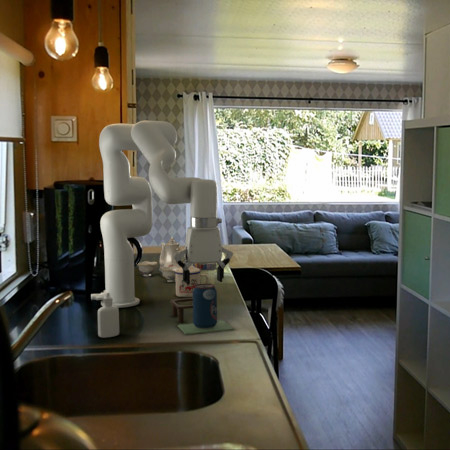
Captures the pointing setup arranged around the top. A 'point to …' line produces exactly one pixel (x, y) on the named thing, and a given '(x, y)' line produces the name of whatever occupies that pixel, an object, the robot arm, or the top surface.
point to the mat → (193, 330)
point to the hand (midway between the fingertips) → (203, 282)
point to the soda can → (204, 306)
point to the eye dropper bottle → (108, 319)
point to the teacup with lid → (187, 289)
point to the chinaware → (164, 261)
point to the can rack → (180, 308)
